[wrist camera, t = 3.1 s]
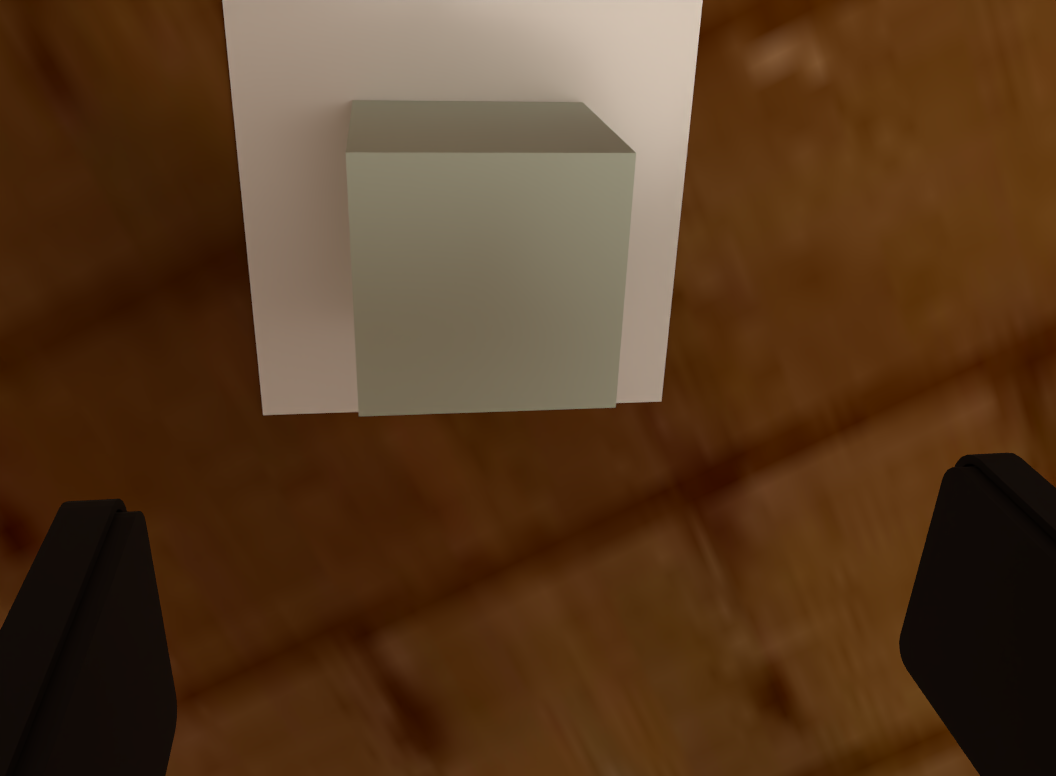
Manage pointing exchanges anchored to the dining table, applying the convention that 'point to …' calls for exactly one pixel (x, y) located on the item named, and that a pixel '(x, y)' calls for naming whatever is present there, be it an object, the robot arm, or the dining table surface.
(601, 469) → the dining table surface
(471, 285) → the sage block
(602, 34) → the tile
